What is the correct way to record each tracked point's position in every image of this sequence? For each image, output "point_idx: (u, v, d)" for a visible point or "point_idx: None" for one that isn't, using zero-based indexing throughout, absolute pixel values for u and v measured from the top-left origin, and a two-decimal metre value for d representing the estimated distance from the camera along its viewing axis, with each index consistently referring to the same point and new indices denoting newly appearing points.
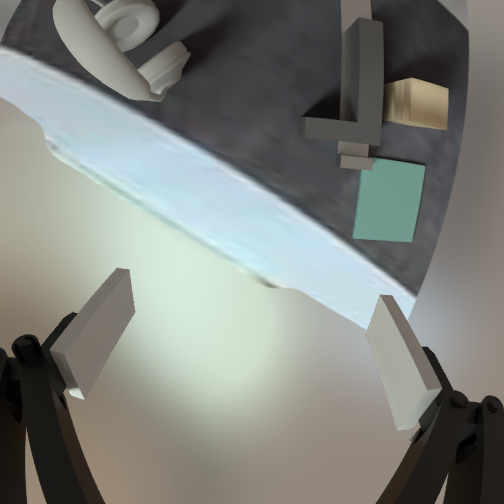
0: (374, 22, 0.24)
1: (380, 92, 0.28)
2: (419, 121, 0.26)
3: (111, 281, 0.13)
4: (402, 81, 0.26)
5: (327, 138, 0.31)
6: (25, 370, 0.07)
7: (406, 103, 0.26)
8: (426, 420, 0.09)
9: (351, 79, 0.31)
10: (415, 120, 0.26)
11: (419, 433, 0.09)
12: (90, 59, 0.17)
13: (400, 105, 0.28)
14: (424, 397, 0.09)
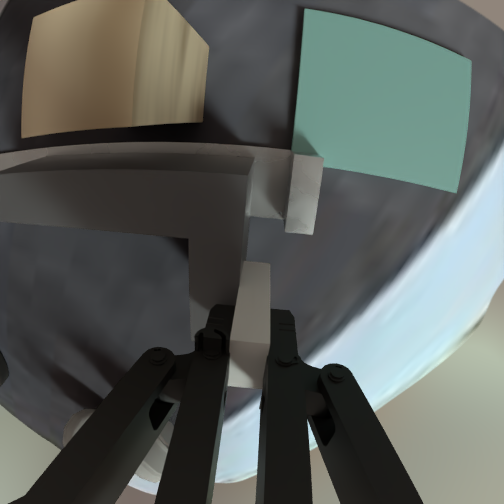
0: None
1: (104, 177, 0.12)
2: (127, 89, 0.07)
3: (247, 273, 0.15)
4: None
5: None
6: (200, 361, 0.10)
7: None
8: None
9: None
10: (126, 105, 0.07)
11: (263, 401, 0.10)
12: None
13: None
14: (251, 350, 0.11)
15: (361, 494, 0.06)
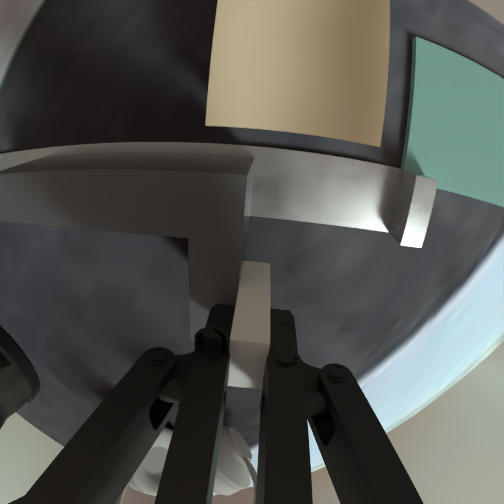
0: None
1: (104, 177, 0.12)
2: (378, 106, 0.07)
3: (247, 273, 0.15)
4: None
5: None
6: (200, 361, 0.10)
7: None
8: None
9: None
10: (376, 123, 0.07)
11: (263, 401, 0.10)
12: None
13: None
14: (251, 350, 0.11)
15: (361, 494, 0.06)
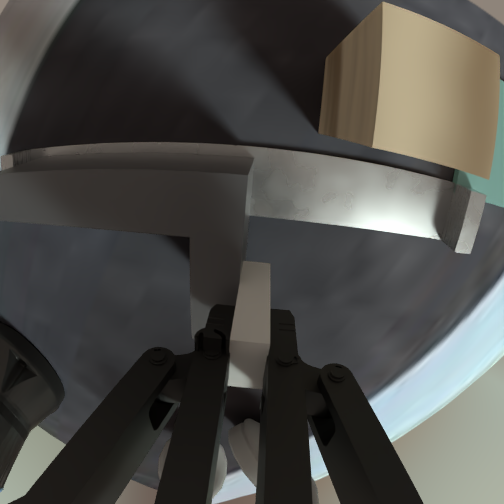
0: None
1: (106, 176, 0.12)
2: (491, 147, 0.07)
3: (247, 273, 0.15)
4: None
5: (235, 305, 0.15)
6: (200, 361, 0.10)
7: None
8: (263, 387, 0.10)
9: None
10: (488, 161, 0.08)
11: (263, 401, 0.10)
12: None
13: None
14: (251, 350, 0.11)
15: (361, 494, 0.06)
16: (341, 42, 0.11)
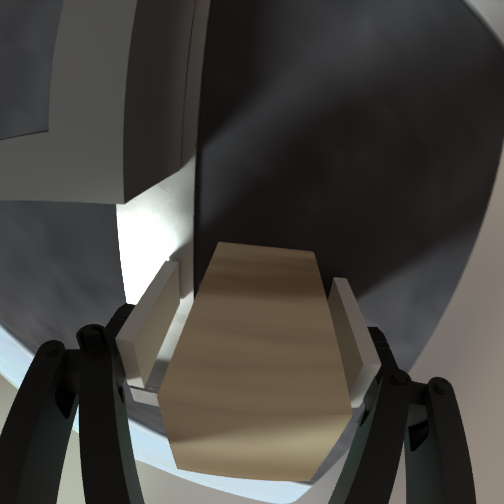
0: None
1: None
2: (208, 472, 0.09)
3: (163, 273, 0.14)
4: None
5: None
6: (87, 359, 0.09)
7: None
8: (368, 401, 0.10)
9: None
10: (194, 470, 0.09)
11: (364, 415, 0.10)
12: None
13: None
14: (362, 372, 0.10)
15: (431, 498, 0.05)
16: (324, 296, 0.12)
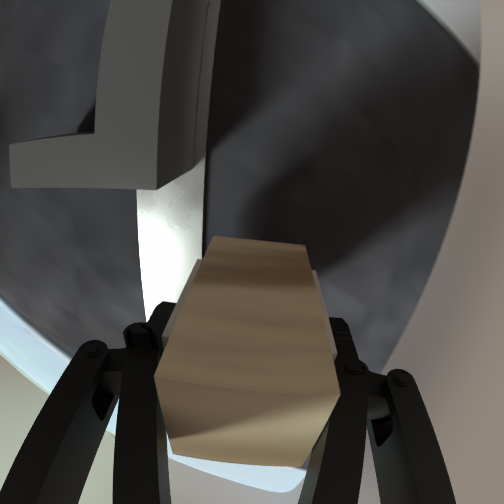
0: None
1: (158, 34, 0.09)
2: (202, 457, 0.09)
3: None
4: None
5: (42, 184, 0.12)
6: (132, 357, 0.09)
7: None
8: None
9: None
10: (189, 455, 0.09)
11: None
12: None
13: None
14: None
15: (404, 494, 0.05)
16: (314, 285, 0.12)
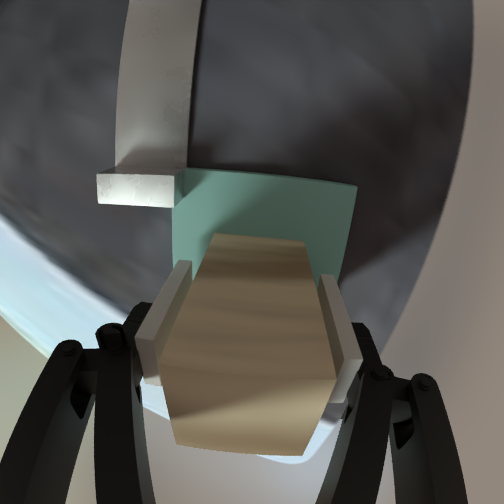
0: None
1: None
2: (205, 447, 0.10)
3: (177, 272, 0.15)
4: None
5: None
6: (106, 358, 0.09)
7: None
8: (351, 397, 0.10)
9: None
10: (192, 444, 0.10)
11: (347, 411, 0.10)
12: None
13: None
14: (344, 367, 0.10)
15: (420, 496, 0.05)
16: (312, 278, 0.13)
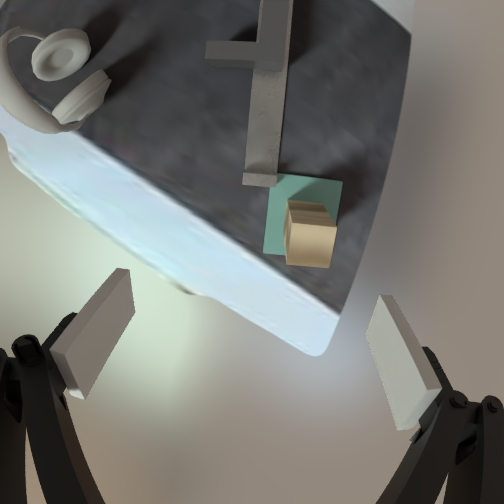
0: None
1: (285, 14, 0.26)
2: (297, 263, 0.34)
3: (110, 281, 0.13)
4: (290, 217, 0.34)
5: (227, 58, 0.28)
6: (25, 370, 0.07)
7: (288, 243, 0.34)
8: (426, 420, 0.09)
9: None
10: (292, 263, 0.34)
11: (419, 433, 0.09)
12: (8, 106, 0.19)
13: (287, 239, 0.36)
14: (424, 397, 0.09)
15: None
16: (327, 212, 0.37)
